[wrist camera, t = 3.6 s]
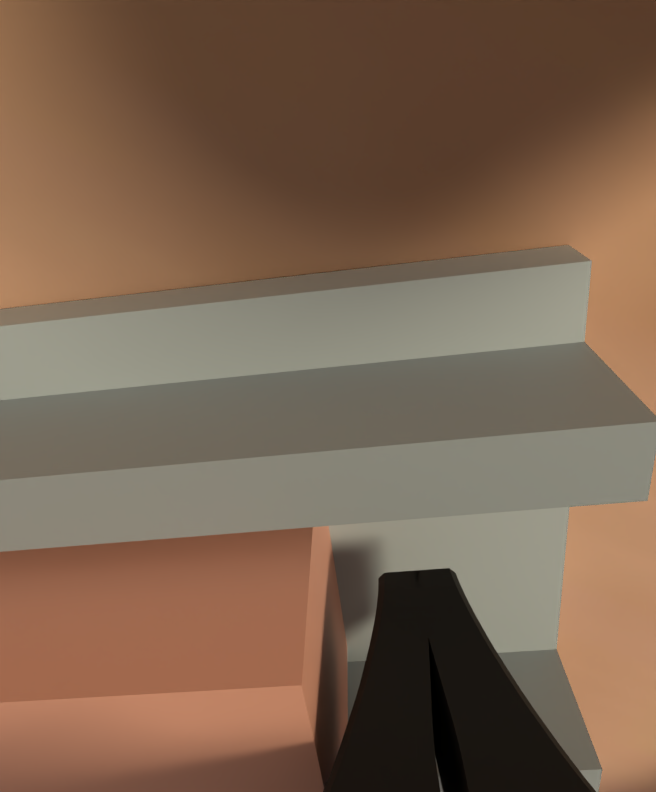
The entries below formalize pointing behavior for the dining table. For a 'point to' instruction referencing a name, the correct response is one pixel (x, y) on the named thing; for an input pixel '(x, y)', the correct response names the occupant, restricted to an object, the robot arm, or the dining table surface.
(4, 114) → the dining table surface
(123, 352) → the chute
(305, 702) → the block
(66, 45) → the dining table surface
